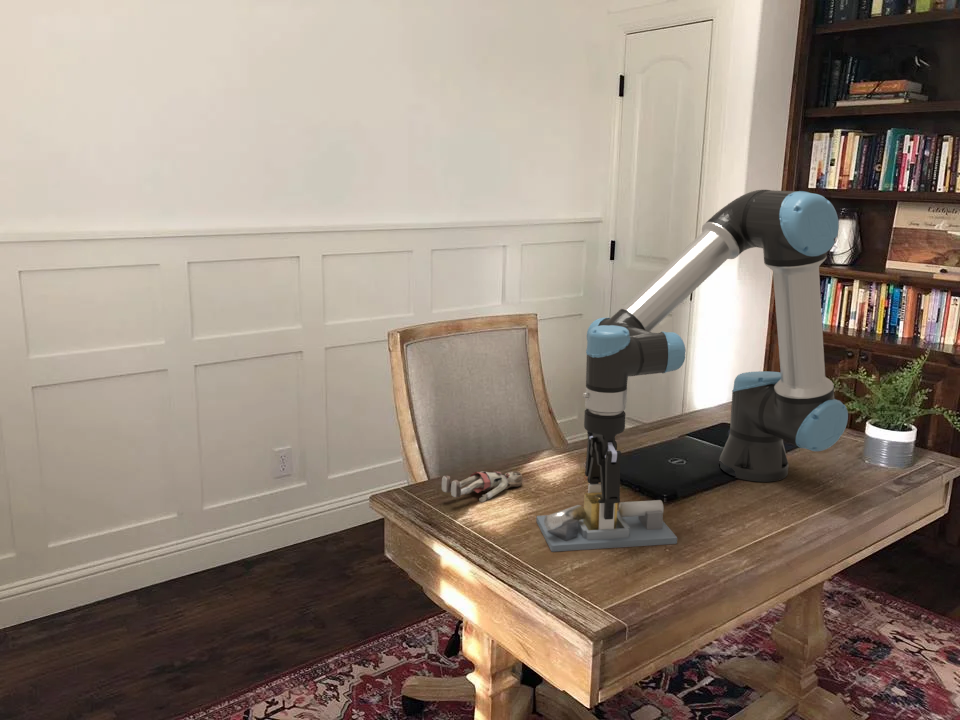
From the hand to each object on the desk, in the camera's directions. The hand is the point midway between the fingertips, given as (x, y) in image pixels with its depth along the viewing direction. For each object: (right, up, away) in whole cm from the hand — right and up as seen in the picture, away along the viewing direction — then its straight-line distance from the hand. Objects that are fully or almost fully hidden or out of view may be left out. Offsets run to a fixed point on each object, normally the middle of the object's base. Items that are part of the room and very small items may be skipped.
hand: (600, 523), depth 160 cm
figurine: (-22, +2, +18) cm, 28 cm away
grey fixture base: (+1, -2, +1) cm, 2 cm away
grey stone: (-7, -1, -3) cm, 8 cm away
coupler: (0, -1, 0) cm, 1 cm away
